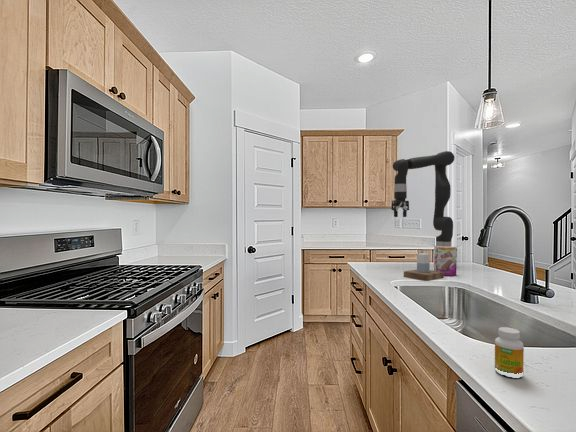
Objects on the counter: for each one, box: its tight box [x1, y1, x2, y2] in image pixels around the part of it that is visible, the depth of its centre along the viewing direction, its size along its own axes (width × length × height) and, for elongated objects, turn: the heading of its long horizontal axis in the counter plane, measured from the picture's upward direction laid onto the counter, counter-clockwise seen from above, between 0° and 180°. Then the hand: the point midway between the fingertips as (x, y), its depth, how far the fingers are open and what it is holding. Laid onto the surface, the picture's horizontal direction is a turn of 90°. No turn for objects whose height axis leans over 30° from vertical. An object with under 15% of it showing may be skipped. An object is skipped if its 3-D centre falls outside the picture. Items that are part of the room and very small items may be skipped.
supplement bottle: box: [494, 326, 525, 374], centre depth 77 cm, size 5×5×10 cm
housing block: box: [416, 252, 431, 273], centre depth 192 cm, size 5×4×10 cm
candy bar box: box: [433, 245, 458, 277], centre depth 198 cm, size 11×5×16 cm, turn 84°
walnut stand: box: [403, 269, 445, 282], centre depth 192 cm, size 16×14×3 cm
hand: (400, 217), depth 219 cm, fingers open, 8 cm apart
